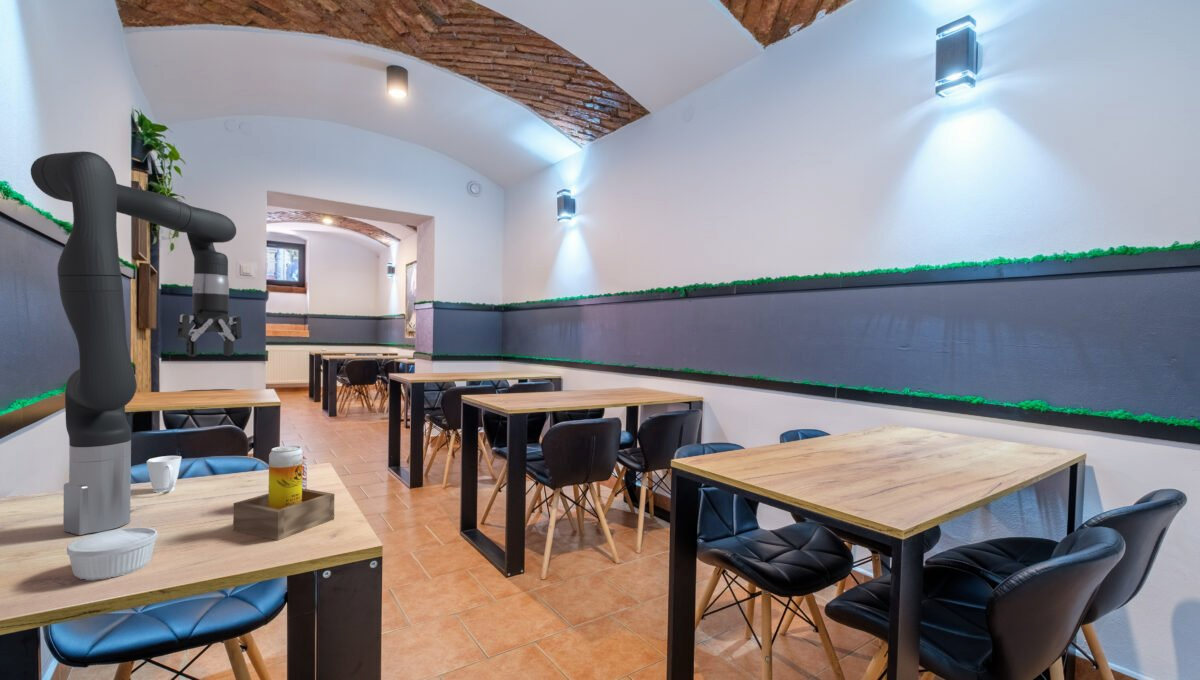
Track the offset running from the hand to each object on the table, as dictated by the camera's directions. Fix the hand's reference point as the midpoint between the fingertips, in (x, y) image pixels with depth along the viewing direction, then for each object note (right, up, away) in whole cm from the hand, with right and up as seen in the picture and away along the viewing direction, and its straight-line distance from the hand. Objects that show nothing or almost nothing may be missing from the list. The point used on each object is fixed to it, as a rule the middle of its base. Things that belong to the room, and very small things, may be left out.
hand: (210, 356), depth 135 cm
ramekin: (+18, -35, -46) cm, 60 cm away
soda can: (+27, -35, -11) cm, 45 cm away
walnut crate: (+34, -35, -24) cm, 54 cm away
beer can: (+34, -34, -24) cm, 54 cm away
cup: (-9, -34, -3) cm, 36 cm away
